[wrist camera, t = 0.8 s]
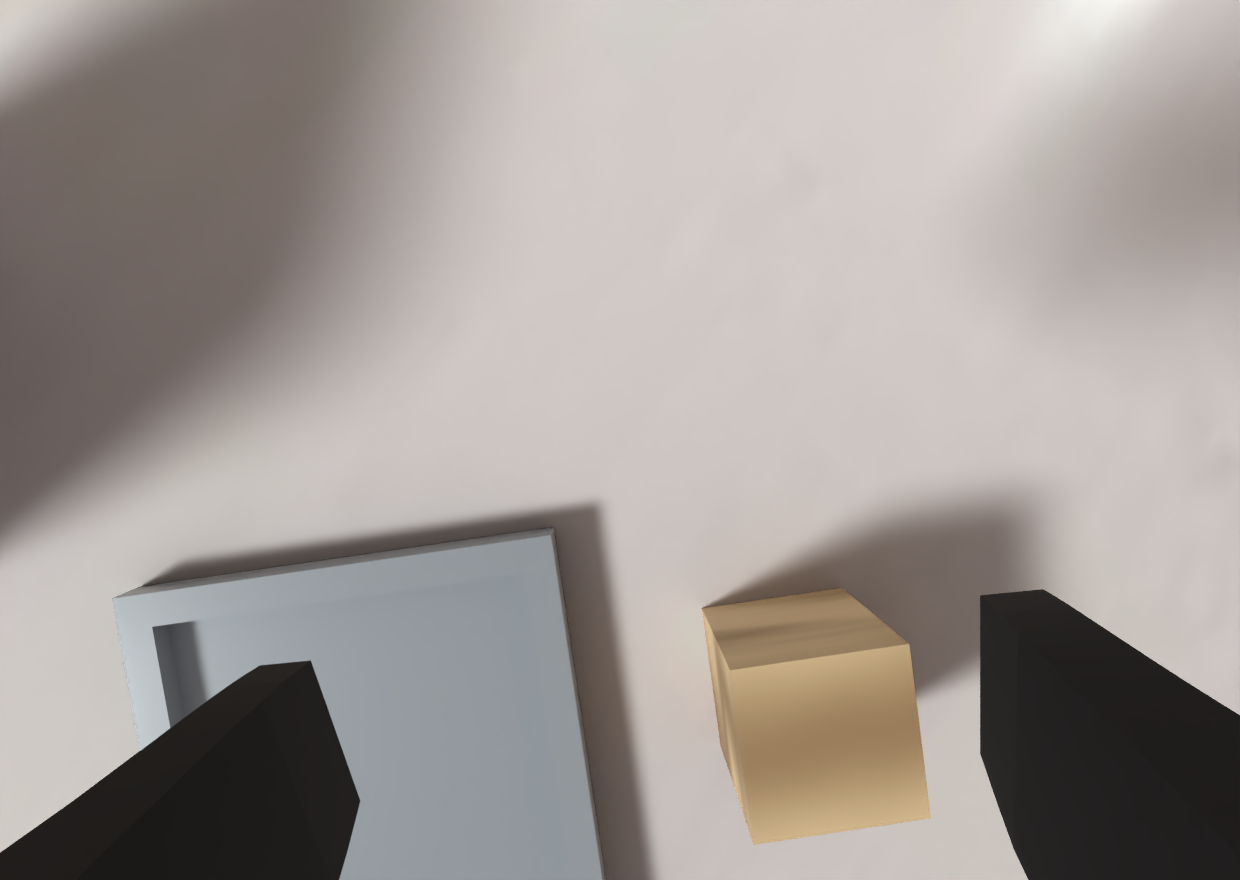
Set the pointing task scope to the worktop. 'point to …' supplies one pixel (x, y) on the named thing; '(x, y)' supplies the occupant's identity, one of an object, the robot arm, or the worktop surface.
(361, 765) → the slate tray
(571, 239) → the worktop surface
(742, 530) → the worktop surface
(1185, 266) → the worktop surface
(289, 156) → the worktop surface
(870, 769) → the oak block
